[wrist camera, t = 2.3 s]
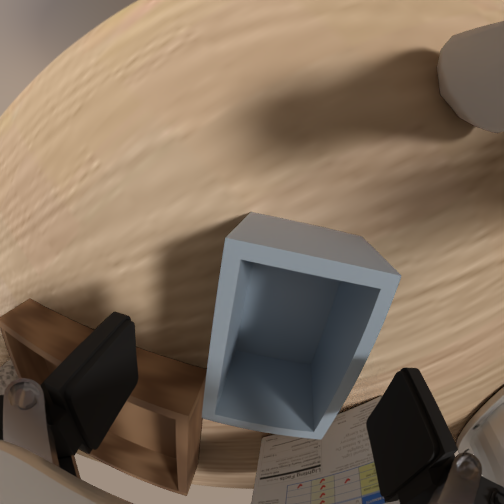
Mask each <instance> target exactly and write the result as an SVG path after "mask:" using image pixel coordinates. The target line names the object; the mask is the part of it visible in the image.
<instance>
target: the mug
mask: <svg viewBox="0 0 504 504" xmlns="http://www.w3.org/2000/svg"><path fill="white" fill-rule="evenodd" d="M17 379H19V378H18V375H17V373H16V371H15V368H14V366H13V363H12V360H11V359H9V360H8V361H7V362H6V363H4V364H3V365H2V366H1V367H0V395H4V392H5V389H6V388H7V386H8V385H9V384H10V383H11V382H12V381H15V380H17Z"/></svg>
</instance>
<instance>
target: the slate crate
mask: <svg viewBox="0 0 504 504" xmlns="http://www.w3.org/2000/svg"><path fill="white" fill-rule="evenodd" d="M400 278H401V275H400V274H399V273H398V272H397V271H396V270H395V269H394V268H393V267H392V266H391V265H390V264H389V263H388V262H387V261H386V260H385V259H384V258H383V257H382V256H381V255H380V254H379V253H378V252H377V251H376V250H375V249H374V248H373V247H372V246H371V245H370V244H369V243H368V242H367V241H366V240H365V239H364V238H363V237H362V236H358V235H354V234H350V233H346V232H341V231H337V230H333V229H328V228H324V227H320V226H315V225H311V224H306V223H302V222H297V221H292V220H288V219H283V218H278V217H274V216H269V215H264V214H259V213H254V212H250V213H249V214H248V215H247V216H246V217H245V218H244V219H243V220H242V221H241V222H240V223H239V224H238V225H237V226H236V227H235V228H234V229H233V231H232V232H231V233H230V234H229V235H228V236H227V237H226V238H225V244H224V250H223V256H222V263H221V270H220V276H219V283H218V290H217V297H216V304H215V311H214V319H213V326H212V333H211V341H210V349H209V357H208V365H207V373H206V382H205V390H204V399H203V408H202V418H203V419H207V420H211V421H215V422H219V423H223V424H227V425H231V426H235V427H240V428H245V429H250V430H255V431H260V432H266V433H272V434H278V435H285V436H292V437H300V438H309V439H320V440H321V439H322V438H323V436H324V435H325V433H326V432H327V430H328V429H329V427H330V425H331V424H332V422H333V421H334V419H335V417H336V416H337V414H338V412H339V411H340V409H341V407H342V405H343V404H344V402H345V400H346V398H347V397H348V395H349V393H350V391H351V389H352V388H353V386H354V384H355V382H356V380H357V378H358V376H359V374H360V372H361V370H362V368H363V366H364V364H365V362H366V360H367V358H368V356H369V354H370V352H371V350H372V348H373V346H374V343H375V341H376V339H377V337H378V334H379V332H380V330H381V327H382V325H383V323H384V320H385V318H386V315H387V313H388V311H389V308H390V305H391V303H392V300H393V298H394V295H395V292H396V290H397V287H398V284H399V281H400Z"/></svg>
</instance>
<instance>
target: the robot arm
mask: <svg viewBox="0 0 504 504" xmlns="http://www.w3.org/2000/svg"><path fill="white" fill-rule="evenodd" d="M137 382H138V366H137V355H136V341H135V325H134V322H132V321H131V319H130V317H129V316H127V315H124V314H121V313H118V312H113V313H112V314H111V315H110V316H108V317H107V318H106V319H105V320H104V321H103V322H102V323H101V324H100V325H99V326H98V327H97V328H96V329H95V330H94V331H93V332H92V333H91V334H90V335H89V336H88V337H87V338H86V339H85V340H84V341H83V342H81V343H80V344H79V345H78V346H77V347H76V348H75V349H74V350H73V351H72V352H71V353H70V354H69V355H68V356H67V358H66V359H65V360H64V361H63V362H62V363H61V364H60V365H59V366H58V367H57V368H56V369H55V370H54V371H53V372H52V373H51V374H50V375H49V376H48V377H47V378H46V379H45V380H44V382H43V383H42V384H41V385H39V384H38V383H37V382H36V381H34V380H31V379H27V378H22V379H17V380H15V381H12V382H11V383H10V384H9V385H8V386H7V388H6V389H5V392H4V395H0V504H133V503H131V502H128V501H126V500H123V499H121V498H119V497H117V496H114V495H112V494H110V493H107V492H105V491H103V490H101V489H99V488H97V487H95V486H93V485H90V484H89V483H87V482H85V481H83V480H81V478H80V475H79V471H78V468H77V465H76V461H75V457H74V455H75V454H76V452H77V450H78V449H80V450H81V451H83V452H85V453H87V454H90V453H91V451H92V449H94V450H96V449H98V447H99V446H100V444H101V442H102V441H103V439H104V437H105V436H106V434H107V432H108V431H109V429H110V427H111V426H112V424H113V422H114V421H115V419H116V417H117V416H118V414H119V412H120V411H121V409H122V408H123V406H124V404H125V403H126V401H127V399H128V398H129V396H130V395H131V393H132V391H133V390H134V388H135V387H136V385H137ZM366 427H367V431H368V436H369V440H370V445H371V449H372V454H373V459H374V463H375V468H376V474H377V479H378V484H379V490H380V494H381V496H382V497H384V501H385V503H388V502H394V501H398V500H399V501H400V504H504V387H503V388H502V389H500V390H499V391H498V392H497V393H496V394H495V395H494V396H493V397H491V398H490V399H489V400H488V401H487V402H486V403H485V404H484V405H483V406H482V407H481V408H480V409H479V410H478V411H477V413H476V414H475V415H474V416H473V417H472V418H471V419H470V421H469V422H468V423H467V424H466V426H465V427H464V428H463V430H462V431H461V433H460V435H459V437H458V439H457V442H456V444H455V442H454V439H453V437H452V435H451V433H450V431H449V428H448V426H447V424H446V422H445V420H444V418H443V416H442V414H441V412H440V409H439V407H438V405H437V403H436V401H435V399H434V397H433V395H432V394H431V392H430V390H429V388H428V386H427V384H426V382H425V380H424V378H423V376H422V375H421V373H420V371H419V370H418V369H417V368H403V369H401V371H399V372H397V373H396V375H395V376H394V378H393V380H392V382H391V383H390V385H389V386H388V388H387V390H386V391H385V393H384V395H383V396H382V398H381V399H380V401H379V402H378V404H377V405H376V407H375V408H374V410H373V411H372V413H371V414H370V416H369V417H368V419H367V422H366ZM457 450H458V452H459V454H458V455H457V456H456V457H455V455H454V453H455V452H456V451H457ZM473 454H474V455H473ZM481 475H483V476H481Z"/></svg>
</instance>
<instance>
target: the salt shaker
mask: <svg viewBox="0 0 504 504" xmlns="http://www.w3.org/2000/svg"><path fill="white" fill-rule="evenodd" d="M437 73H438V80H439V89H440V95H441V96H442V97H443V98H444V100H445V101H446V102H447V103H448V104H449V105H450V107H451V108H452V109H453V110H454V111H455V113H456V114H457V115H458V116H459V118H461V119H463V120H465V121H466V122H468V123H470V124H472V125H474V126H476V127H479V128H482V129H484V130H487V131H490V132H494V133H500V132H503V131H504V21H502V22H498V23H494V24H490V25H486V26H482V27H479V28H475V29H472V30H469V31H465V32H462V33H459V34H456V35H453V36H452V37H451V38H450V39H449V41H448V42H447V43H446V44H445V45H444V46H443V48H442V49H441V51H440V56H439V60H438V65H437Z"/></svg>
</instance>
